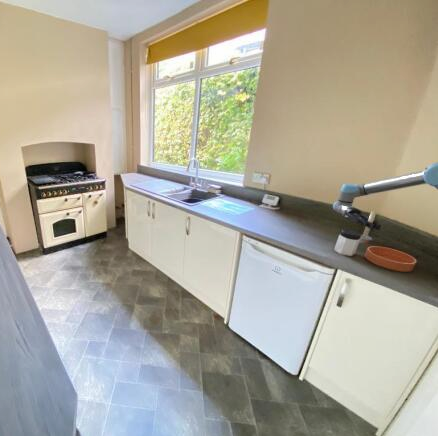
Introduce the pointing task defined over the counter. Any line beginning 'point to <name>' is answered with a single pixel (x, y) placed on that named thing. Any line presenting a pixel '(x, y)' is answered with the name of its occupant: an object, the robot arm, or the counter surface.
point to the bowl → (390, 258)
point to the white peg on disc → (367, 231)
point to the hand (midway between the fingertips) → (376, 227)
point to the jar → (347, 242)
